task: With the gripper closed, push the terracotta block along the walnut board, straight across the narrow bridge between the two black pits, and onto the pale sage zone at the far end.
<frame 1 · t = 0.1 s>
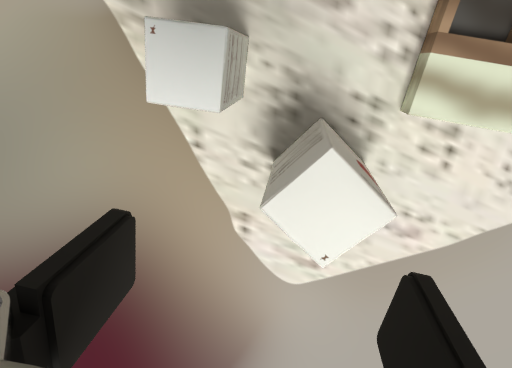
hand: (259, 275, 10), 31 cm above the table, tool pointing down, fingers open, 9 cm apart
supplement box 2: (318, 162, 41), on the table
supplement box: (219, 64, 38), on the table
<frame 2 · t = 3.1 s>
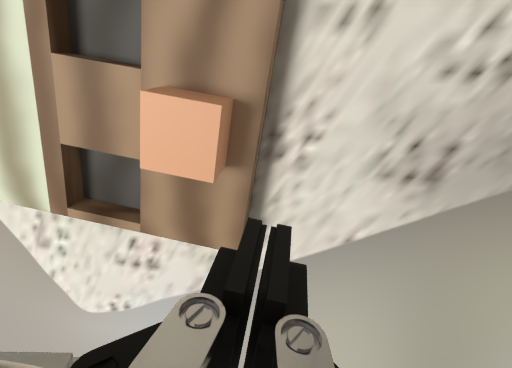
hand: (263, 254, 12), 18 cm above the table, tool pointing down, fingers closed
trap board: (126, 106, 30), on the table
terracotta block: (195, 127, 26), point 3 cm above the table, touching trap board
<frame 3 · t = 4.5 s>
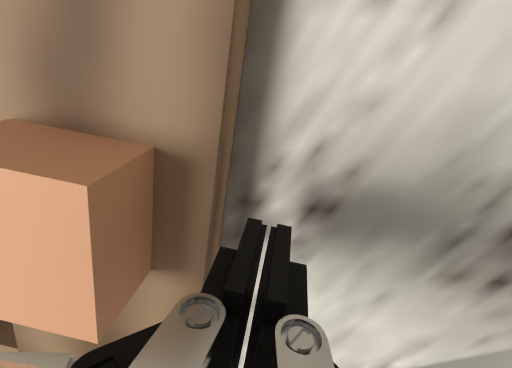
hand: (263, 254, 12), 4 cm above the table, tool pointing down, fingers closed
terracotta block: (86, 199, 13), point 3 cm above the table, touching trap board
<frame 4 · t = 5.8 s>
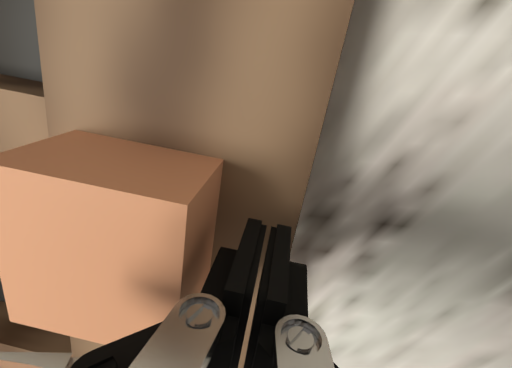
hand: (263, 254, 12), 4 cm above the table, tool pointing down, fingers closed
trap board: (44, 157, 16), on the table
terracotta block: (146, 211, 13), point 3 cm above the table, touching gripper
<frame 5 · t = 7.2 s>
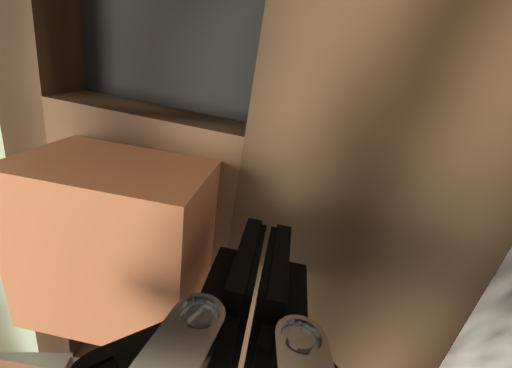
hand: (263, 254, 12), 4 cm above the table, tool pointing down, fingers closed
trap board: (186, 187, 16), on the table
terracotta block: (146, 214, 13), point 3 cm above the table
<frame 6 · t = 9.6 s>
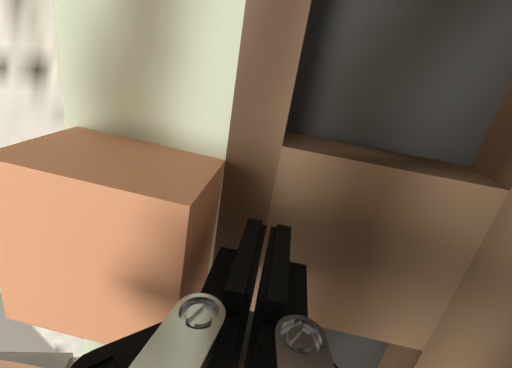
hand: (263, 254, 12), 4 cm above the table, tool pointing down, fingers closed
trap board: (369, 227, 15), on the table
terracotta block: (146, 210, 13), point 3 cm above the table, touching gripper, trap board
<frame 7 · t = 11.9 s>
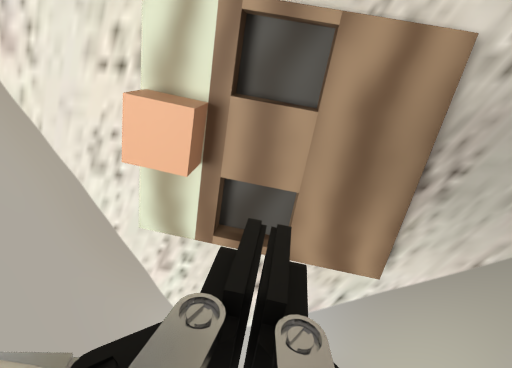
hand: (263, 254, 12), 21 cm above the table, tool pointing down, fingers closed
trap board: (278, 141, 31), on the table
terracotta block: (174, 127, 29), point 3 cm above the table, touching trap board
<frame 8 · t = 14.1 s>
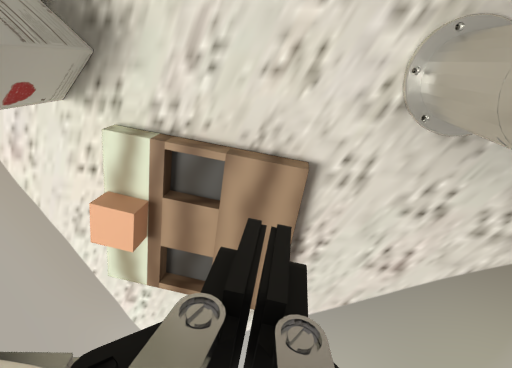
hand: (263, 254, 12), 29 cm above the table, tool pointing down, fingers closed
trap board: (201, 219, 46), on the table
supplement box 2: (52, 52, 40), on the table
terracotta block: (127, 214, 43), point 3 cm above the table, touching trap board
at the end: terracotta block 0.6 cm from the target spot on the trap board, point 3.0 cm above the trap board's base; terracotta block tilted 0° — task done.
